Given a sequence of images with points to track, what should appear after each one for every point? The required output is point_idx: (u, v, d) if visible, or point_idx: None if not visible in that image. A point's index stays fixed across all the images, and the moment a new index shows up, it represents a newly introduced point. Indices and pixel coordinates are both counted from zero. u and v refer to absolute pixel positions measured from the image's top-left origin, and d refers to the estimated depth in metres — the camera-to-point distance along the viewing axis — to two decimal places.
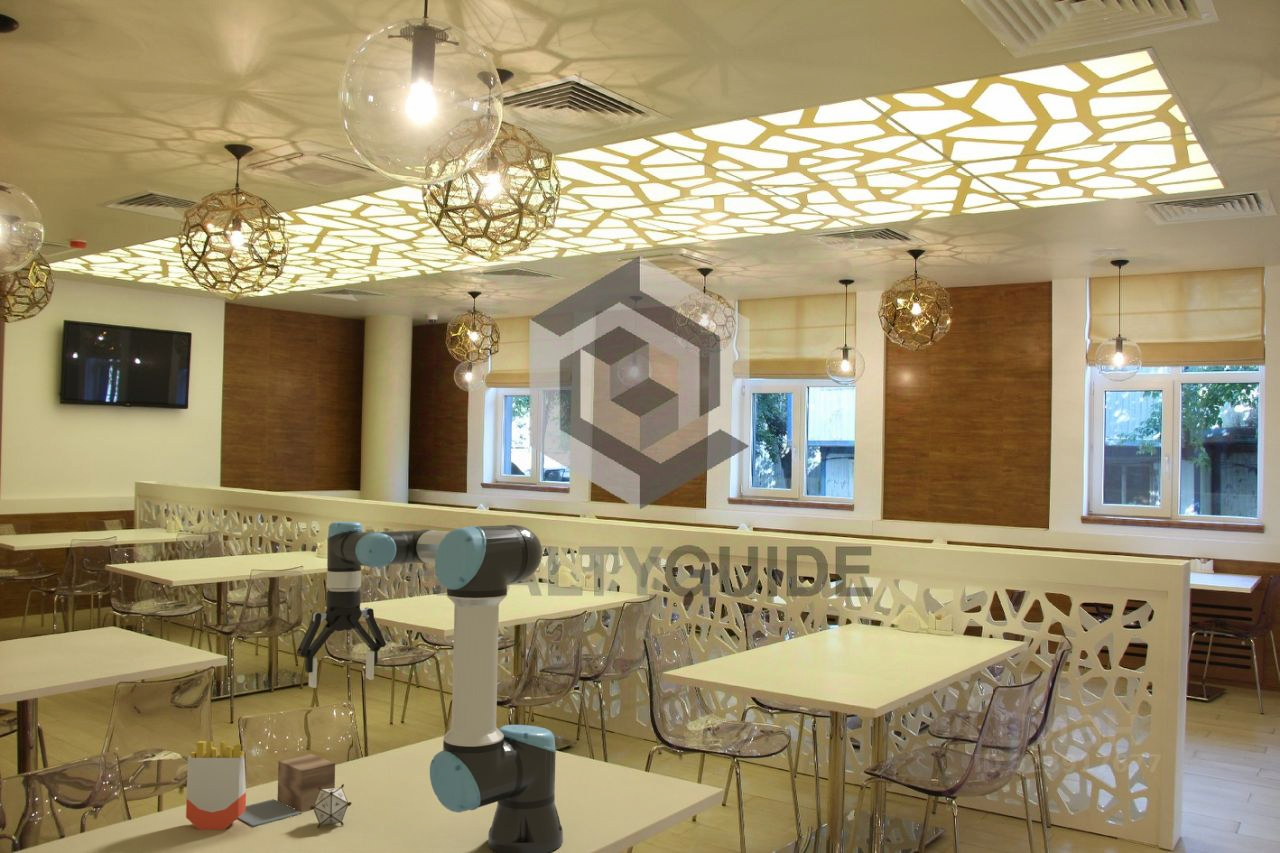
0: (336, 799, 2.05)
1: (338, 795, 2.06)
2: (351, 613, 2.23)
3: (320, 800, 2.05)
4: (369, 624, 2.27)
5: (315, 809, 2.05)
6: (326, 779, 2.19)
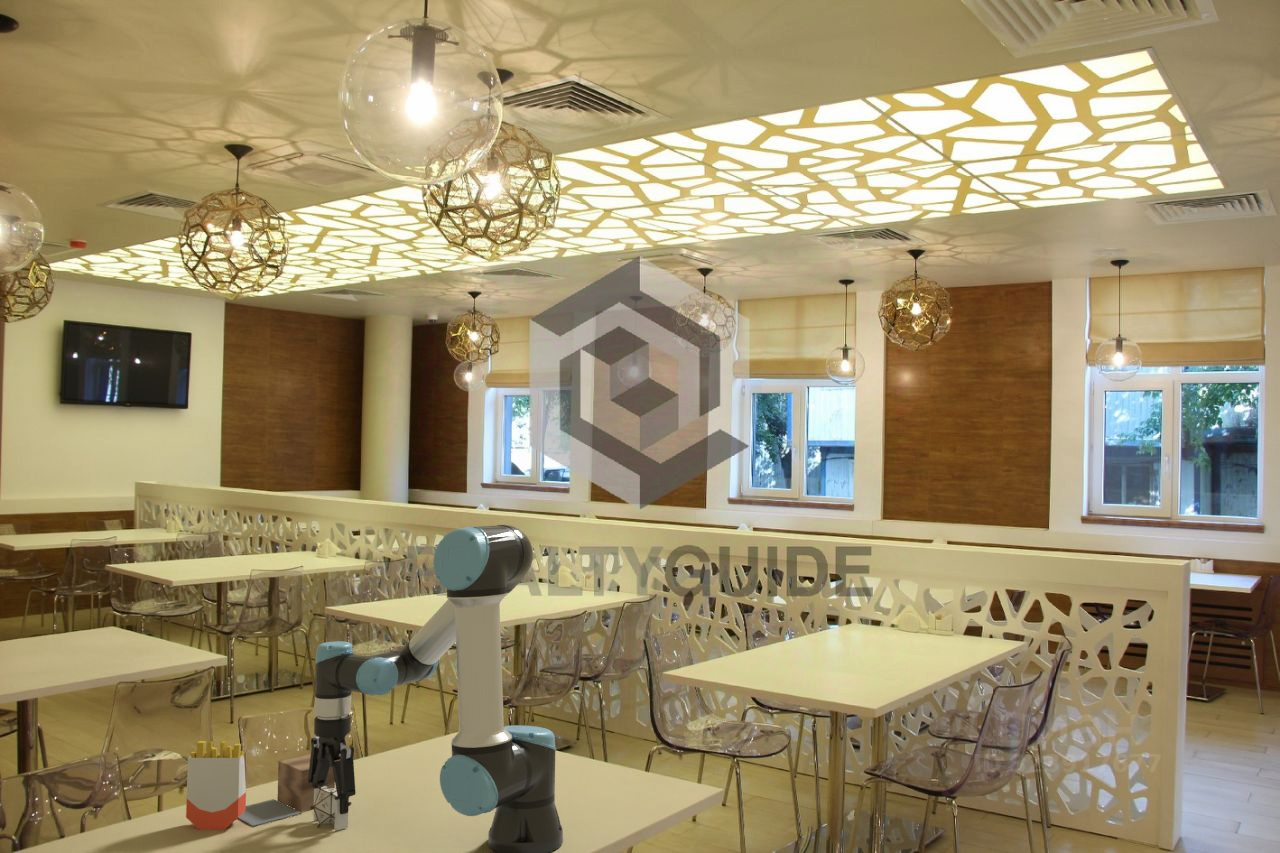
0: None
1: None
2: (331, 741, 2.06)
3: (320, 800, 2.05)
4: None
5: (315, 809, 2.05)
6: (326, 779, 2.19)
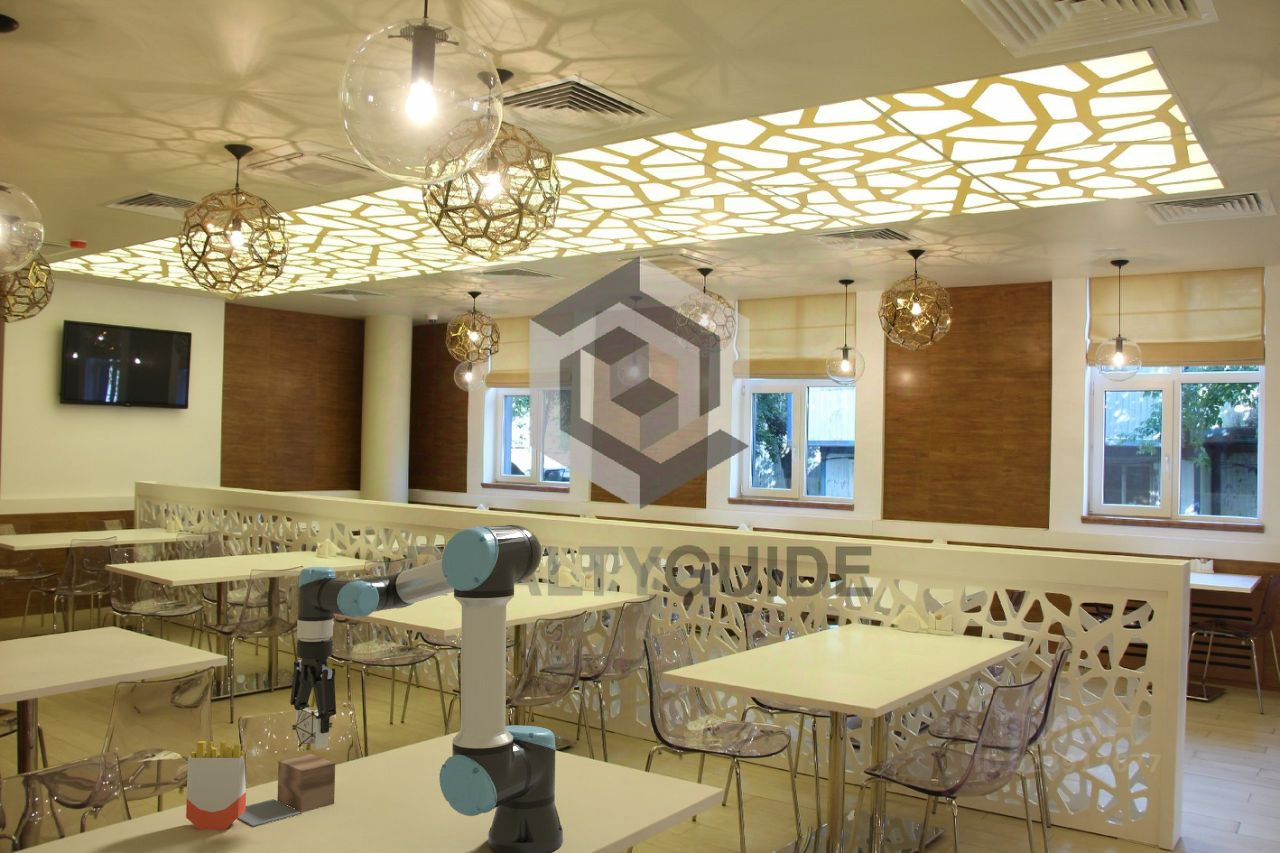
0: None
1: None
2: (313, 663, 2.11)
3: (302, 719, 2.10)
4: None
5: (297, 728, 2.09)
6: (326, 779, 2.19)
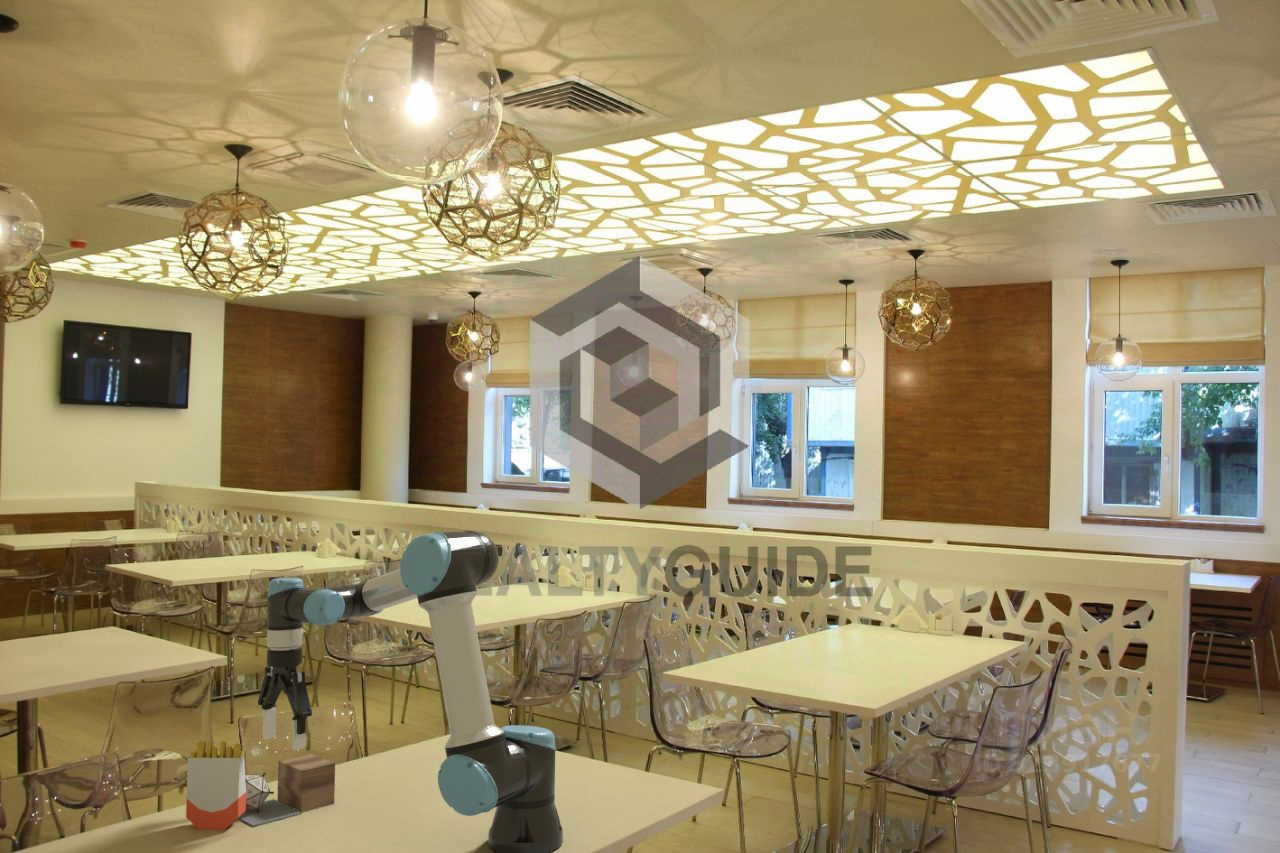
0: (246, 794, 2.12)
1: None
2: (283, 673, 2.17)
3: (250, 806, 2.13)
4: None
5: (259, 806, 2.14)
6: (326, 779, 2.19)
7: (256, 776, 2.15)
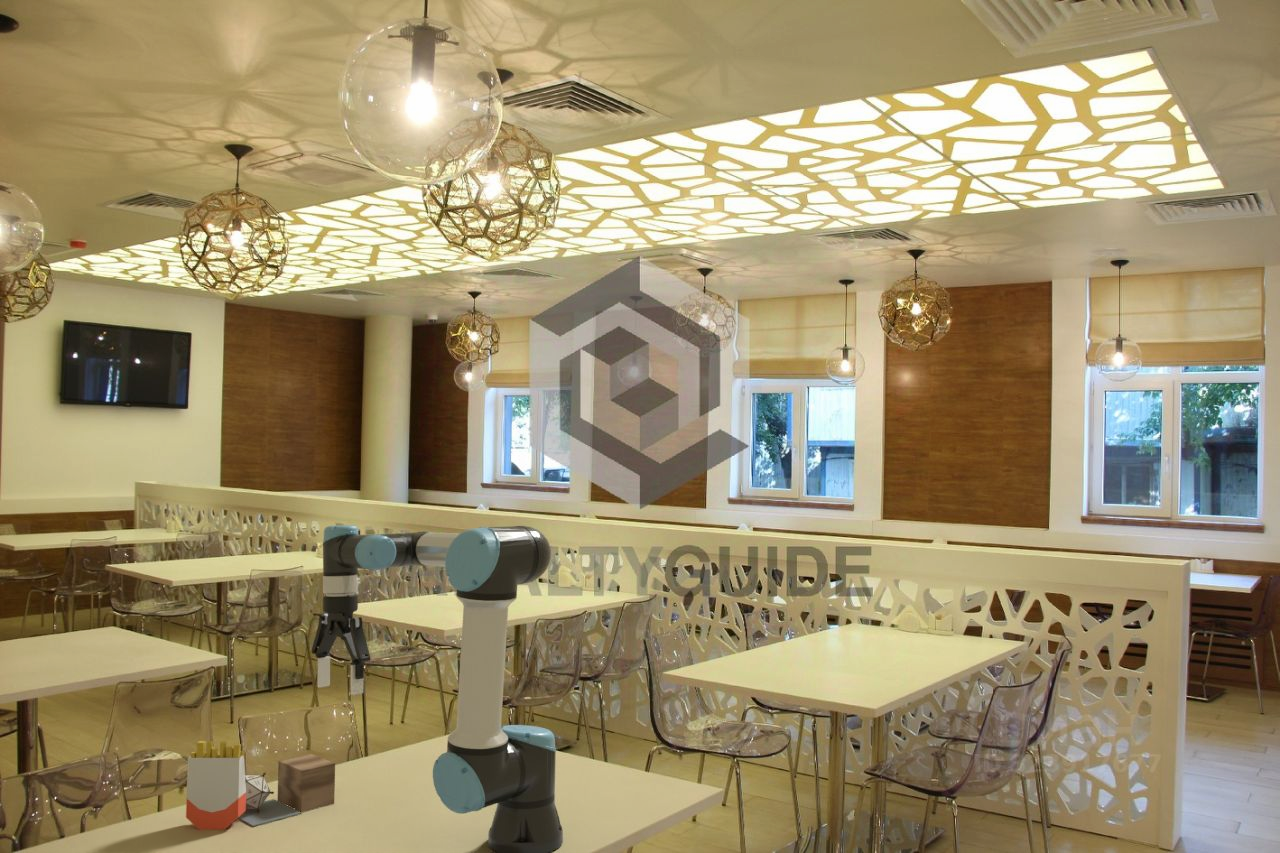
0: (246, 794, 2.12)
1: None
2: (339, 620, 2.16)
3: (250, 806, 2.13)
4: None
5: (259, 806, 2.14)
6: (326, 779, 2.19)
7: (256, 776, 2.15)
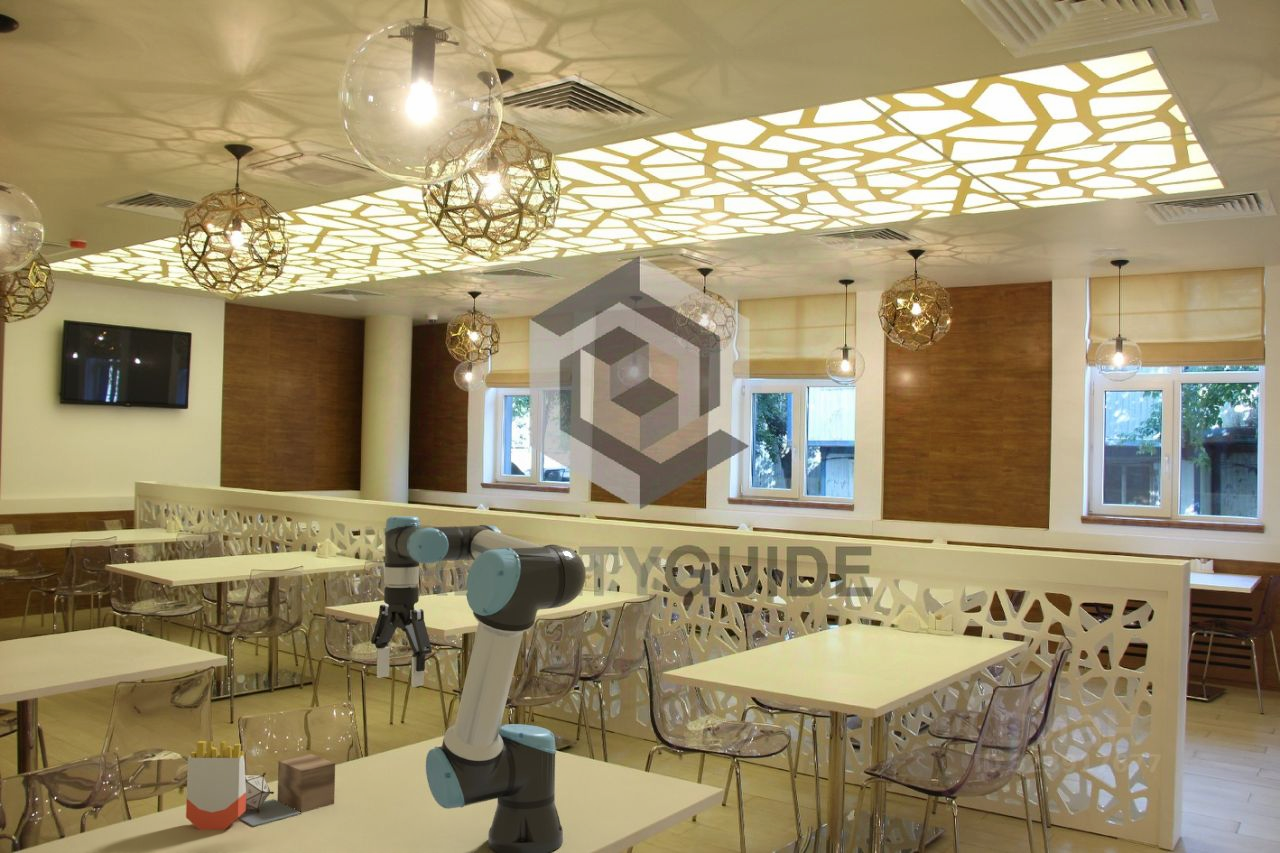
0: (246, 794, 2.12)
1: None
2: (400, 611, 2.15)
3: (250, 806, 2.13)
4: None
5: (259, 806, 2.14)
6: (326, 779, 2.19)
7: (256, 776, 2.15)
